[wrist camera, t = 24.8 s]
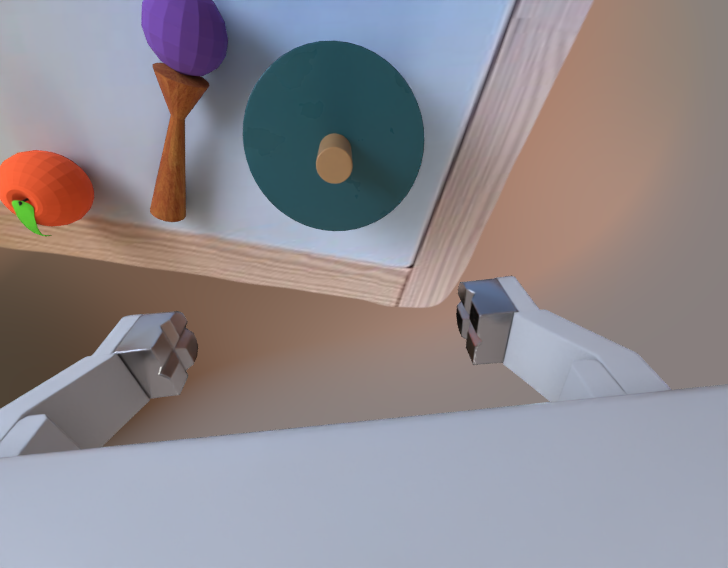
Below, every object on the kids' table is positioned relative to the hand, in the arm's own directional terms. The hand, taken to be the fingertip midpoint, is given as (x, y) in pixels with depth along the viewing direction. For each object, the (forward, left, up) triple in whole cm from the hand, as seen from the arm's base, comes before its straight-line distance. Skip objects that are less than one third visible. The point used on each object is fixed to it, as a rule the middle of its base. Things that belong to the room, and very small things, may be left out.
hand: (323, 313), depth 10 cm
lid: (0, 0, -20) cm, 20 cm away
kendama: (-2, -14, -29) cm, 33 cm away
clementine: (+3, -28, -29) cm, 41 cm away
